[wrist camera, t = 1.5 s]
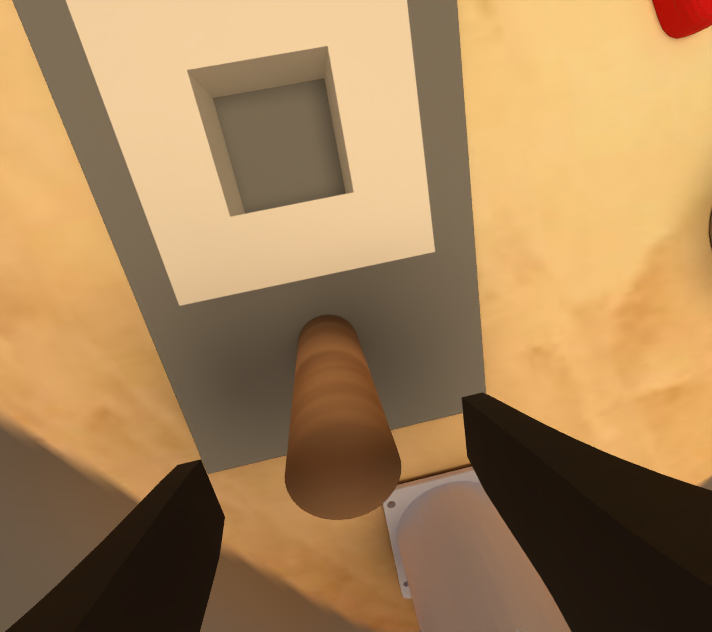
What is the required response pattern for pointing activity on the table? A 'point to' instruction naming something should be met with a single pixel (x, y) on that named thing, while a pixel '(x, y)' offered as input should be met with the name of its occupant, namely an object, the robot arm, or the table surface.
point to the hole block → (207, 145)
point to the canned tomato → (711, 229)
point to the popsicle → (683, 16)
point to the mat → (304, 297)
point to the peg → (337, 427)
